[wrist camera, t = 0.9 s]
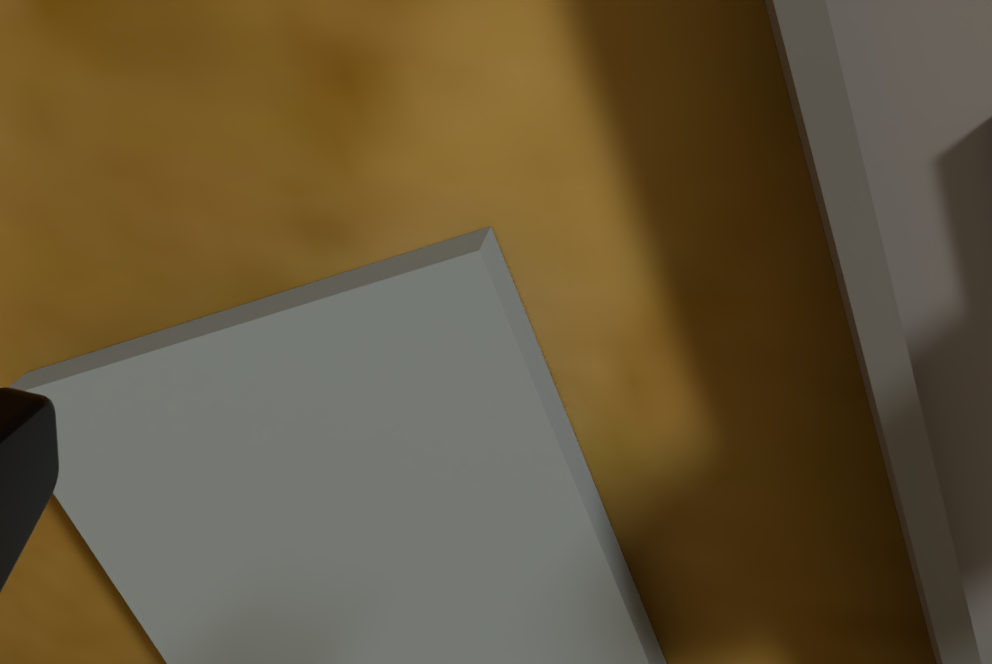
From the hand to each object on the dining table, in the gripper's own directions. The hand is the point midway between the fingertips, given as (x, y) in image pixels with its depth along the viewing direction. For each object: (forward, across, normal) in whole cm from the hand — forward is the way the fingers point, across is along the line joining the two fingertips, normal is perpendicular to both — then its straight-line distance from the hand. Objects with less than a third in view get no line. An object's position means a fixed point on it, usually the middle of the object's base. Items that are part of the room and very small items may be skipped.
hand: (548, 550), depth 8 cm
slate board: (+13, +3, +14) cm, 19 cm away
